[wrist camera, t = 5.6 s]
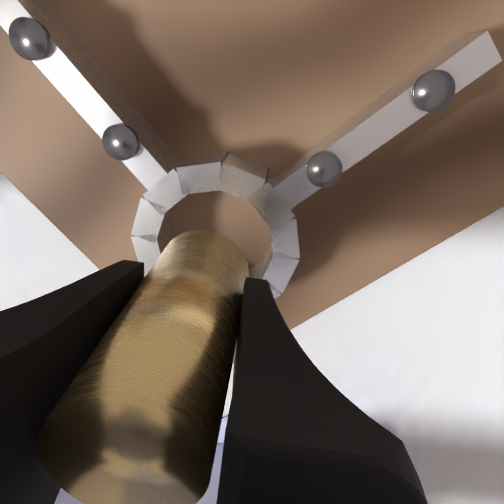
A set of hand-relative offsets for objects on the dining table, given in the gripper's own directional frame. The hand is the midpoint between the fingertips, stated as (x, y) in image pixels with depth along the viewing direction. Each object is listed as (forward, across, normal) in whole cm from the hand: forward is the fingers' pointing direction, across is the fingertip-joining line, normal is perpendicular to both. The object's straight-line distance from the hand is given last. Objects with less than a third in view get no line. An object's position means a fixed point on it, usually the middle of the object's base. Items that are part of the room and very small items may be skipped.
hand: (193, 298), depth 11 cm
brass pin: (+2, 0, 0) cm, 2 cm away
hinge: (+6, 0, -6) cm, 8 cm away
